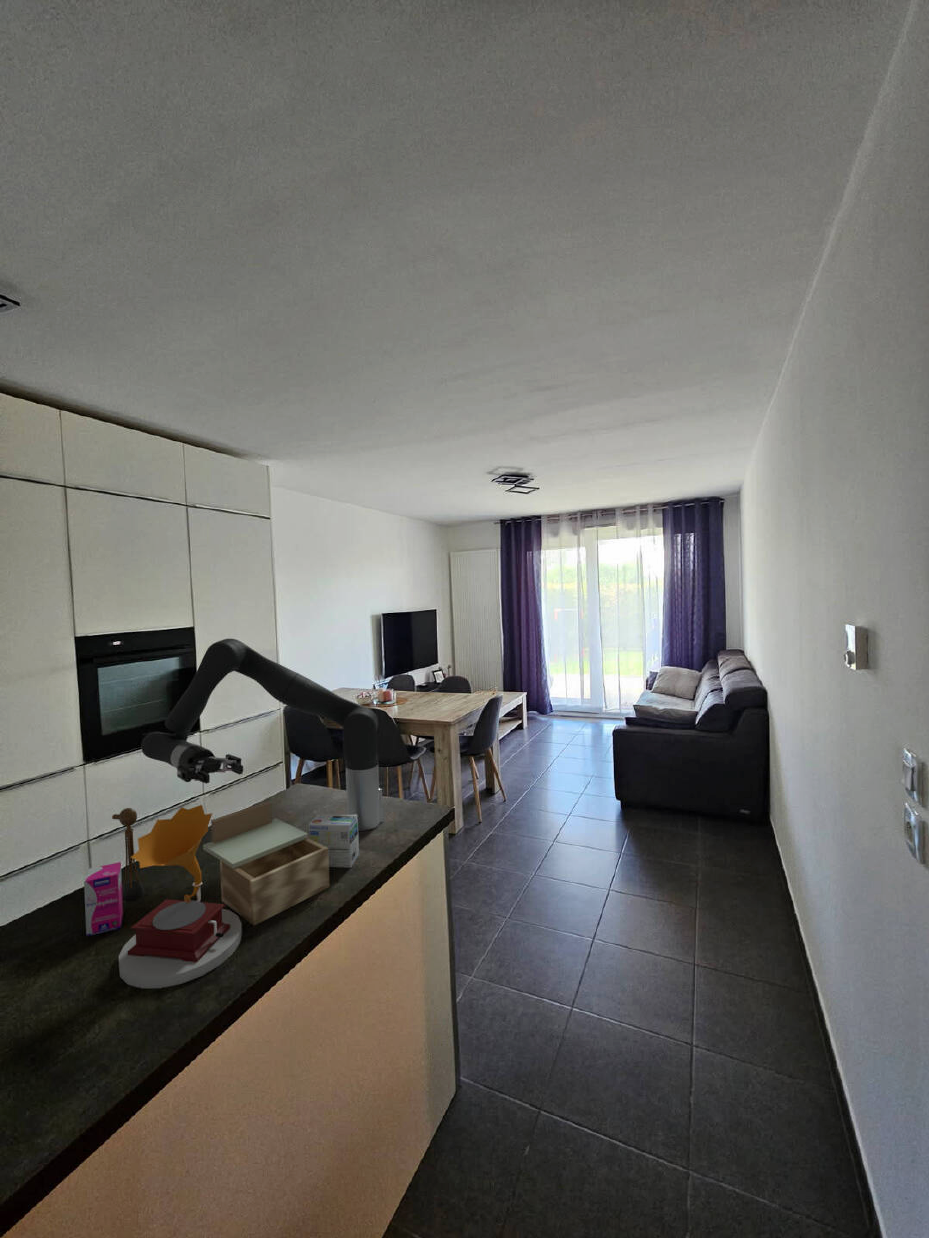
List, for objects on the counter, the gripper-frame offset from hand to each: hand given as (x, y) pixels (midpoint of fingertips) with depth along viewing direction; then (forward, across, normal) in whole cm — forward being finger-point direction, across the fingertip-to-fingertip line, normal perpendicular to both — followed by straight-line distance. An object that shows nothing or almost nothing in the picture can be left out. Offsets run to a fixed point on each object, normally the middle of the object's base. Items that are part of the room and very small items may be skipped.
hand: (225, 774), depth 132 cm
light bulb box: (+22, +17, +21) cm, 35 cm away
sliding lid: (+14, 0, +13) cm, 19 cm away
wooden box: (+23, 0, +21) cm, 31 cm away
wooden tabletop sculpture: (-3, -20, +24) cm, 31 cm away
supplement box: (+4, -27, +23) cm, 36 cm away
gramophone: (+24, -22, +22) cm, 39 cm away
